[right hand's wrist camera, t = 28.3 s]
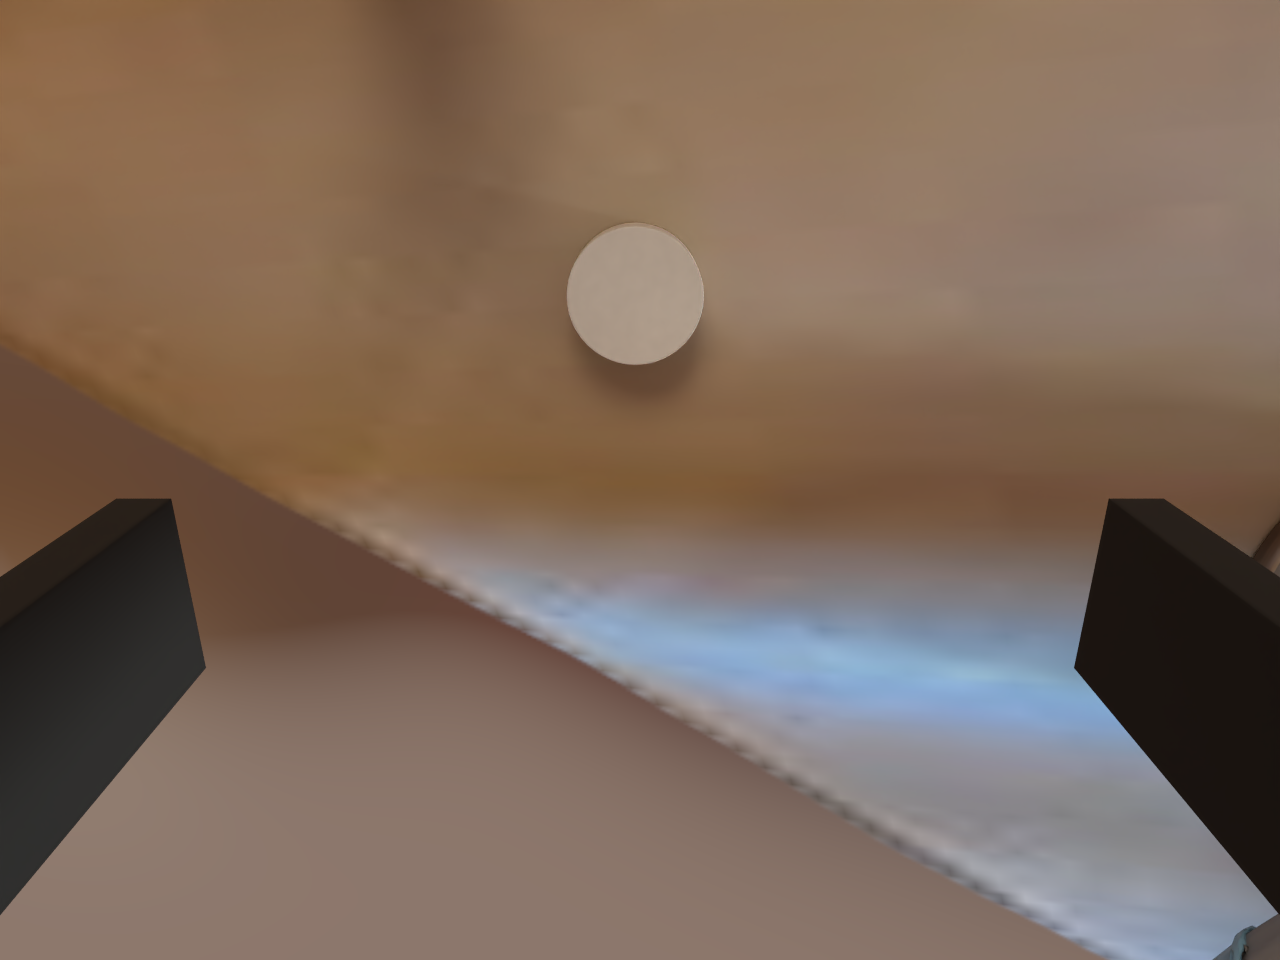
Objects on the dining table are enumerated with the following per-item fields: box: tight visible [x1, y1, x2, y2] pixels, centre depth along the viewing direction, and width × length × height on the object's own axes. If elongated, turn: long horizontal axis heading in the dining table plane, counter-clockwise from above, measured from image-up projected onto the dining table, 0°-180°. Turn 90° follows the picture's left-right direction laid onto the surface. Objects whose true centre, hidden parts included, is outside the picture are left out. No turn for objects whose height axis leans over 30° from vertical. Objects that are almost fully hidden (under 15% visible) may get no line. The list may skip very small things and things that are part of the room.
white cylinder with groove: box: [566, 222, 704, 365], centre depth 36 cm, size 6×6×2 cm
